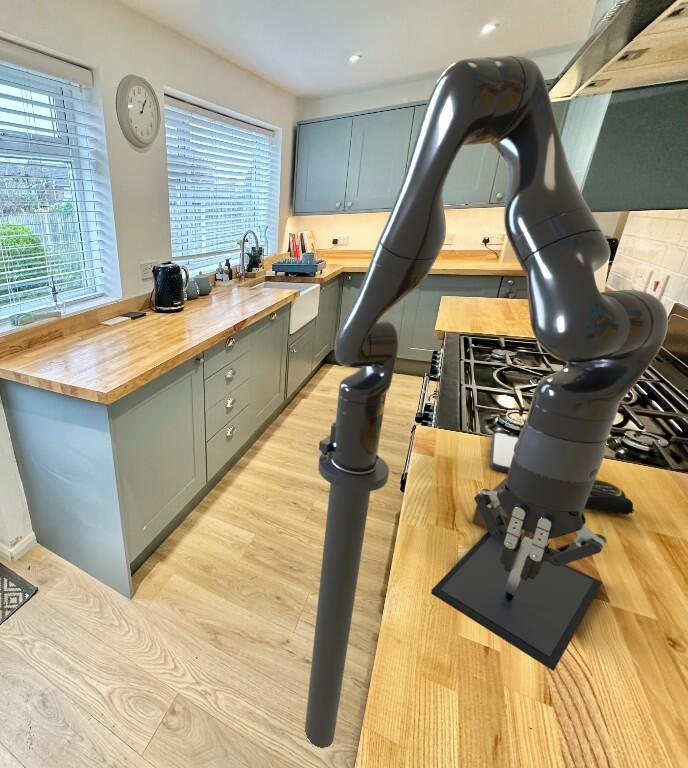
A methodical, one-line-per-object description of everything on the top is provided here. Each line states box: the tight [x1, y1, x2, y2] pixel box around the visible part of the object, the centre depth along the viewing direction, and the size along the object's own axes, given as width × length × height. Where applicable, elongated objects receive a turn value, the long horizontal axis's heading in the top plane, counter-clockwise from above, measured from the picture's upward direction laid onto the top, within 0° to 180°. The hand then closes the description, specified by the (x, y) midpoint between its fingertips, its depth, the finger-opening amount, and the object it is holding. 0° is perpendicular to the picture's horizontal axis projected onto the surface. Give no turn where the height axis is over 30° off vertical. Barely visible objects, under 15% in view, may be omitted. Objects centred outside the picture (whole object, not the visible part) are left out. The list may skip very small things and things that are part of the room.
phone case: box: [489, 432, 519, 474], centre depth 91 cm, size 9×2×16 cm
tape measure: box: [584, 478, 635, 516], centre depth 75 cm, size 7×7×4 cm
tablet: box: [430, 530, 603, 672], centre depth 60 cm, size 14×20×1 cm
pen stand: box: [471, 476, 534, 541], centre depth 73 cm, size 8×13×4 cm, turn 125°
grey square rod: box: [505, 537, 533, 600], centre depth 56 cm, size 1×1×10 cm
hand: (517, 571), depth 56 cm, fingers closed on grey square rod, 1 cm apart
